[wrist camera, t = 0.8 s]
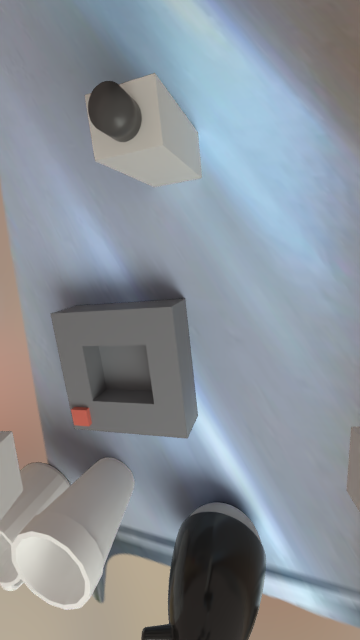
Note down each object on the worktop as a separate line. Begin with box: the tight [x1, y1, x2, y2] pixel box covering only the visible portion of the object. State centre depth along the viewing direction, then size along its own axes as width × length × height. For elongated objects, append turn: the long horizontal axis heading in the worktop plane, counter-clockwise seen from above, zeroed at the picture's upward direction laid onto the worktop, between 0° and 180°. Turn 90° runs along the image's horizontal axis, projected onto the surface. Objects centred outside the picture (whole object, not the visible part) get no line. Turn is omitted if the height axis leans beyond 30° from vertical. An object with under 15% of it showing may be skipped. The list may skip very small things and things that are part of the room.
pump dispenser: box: [141, 502, 266, 640], centre depth 32 cm, size 10×10×15 cm
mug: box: [0, 462, 71, 591], centre depth 42 cm, size 13×10×10 cm
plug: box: [85, 73, 202, 187], centre depth 24 cm, size 4×5×13 cm
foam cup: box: [11, 457, 135, 610], centre depth 36 cm, size 10×9×13 cm
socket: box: [51, 299, 198, 438], centre depth 34 cm, size 14×14×5 cm
